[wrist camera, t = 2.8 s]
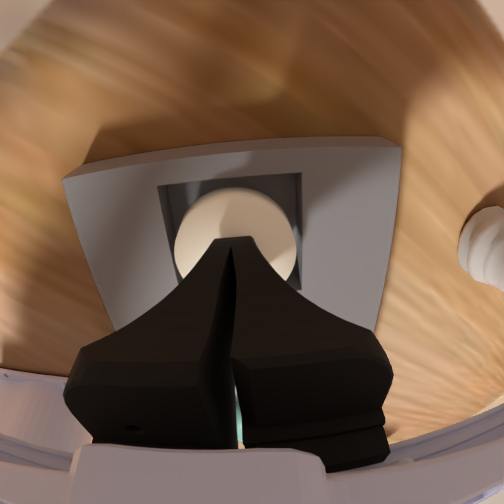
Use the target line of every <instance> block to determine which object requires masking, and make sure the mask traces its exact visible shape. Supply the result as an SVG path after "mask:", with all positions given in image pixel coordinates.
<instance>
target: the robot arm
mask: <svg viewBox="0 0 504 504" xmlns="http://www.w3.org/2000/svg"><path fill="white" fill-rule="evenodd" d="M393 376H394V374H393V370H392V366H391V364H390V362H389V359H388V357H387V355H386V353H385V351H384V349H383V348H382V346H381V344H380V343H379V341H378V340H377V338H376V337H375V335H374V333H373V332H372V331H371V330H369V329H367V328H364V327H362V326H359V325H357V324H354V323H351V322H349V321H346V320H344V319H342V318H340V317H338V316H336V315H334V314H332V313H330V312H328V311H326V310H324V309H322V308H321V307H319V306H317V305H316V304H314V303H313V302H311V301H310V300H308V299H307V298H305V297H304V296H302V295H301V294H300V293H298V292H297V291H296V290H295V289H294V288H292V287H291V286H290V285H289V284H288V283H287V282H286V281H285V280H284V279H283V278H282V277H281V276H280V275H279V274H278V273H277V272H276V271H275V270H274V268H273V267H272V266H271V265H270V264H269V262H268V261H267V260H266V258H265V257H264V256H263V254H262V253H261V251H260V250H259V248H258V247H257V245H256V243H255V241H254V238H253V237H251V236H240V237H228V238H216V239H214V240H213V241H212V242H211V244H210V245H209V247H208V248H207V250H206V251H205V253H204V254H203V255H202V257H201V258H200V259H199V261H198V262H197V263H196V264H195V266H194V267H193V268H192V270H191V271H190V272H189V273H188V274H187V275H186V277H185V278H184V279H183V280H182V281H181V282H180V283H179V284H178V285H177V287H175V288H174V289H173V290H172V291H171V292H170V293H169V294H168V295H167V296H166V297H165V298H163V299H162V300H161V301H160V302H159V303H157V304H156V305H155V306H153V307H152V308H151V309H149V310H148V311H147V312H145V313H144V314H143V315H141V316H140V317H138V318H137V319H135V320H134V321H132V322H131V323H129V324H128V325H126V326H124V327H122V328H121V329H119V330H117V331H115V332H114V333H112V334H110V335H108V336H106V337H104V338H102V339H100V340H97V341H95V342H93V343H91V344H89V345H87V346H85V347H82V348H81V349H80V351H79V353H78V355H77V358H76V360H75V362H74V365H73V367H72V370H71V372H70V375H69V377H59V376H50V375H42V374H34V373H27V372H20V371H14V370H8V369H2V368H0V504H478V503H480V502H481V501H483V500H485V499H487V498H489V497H491V496H492V495H494V494H496V493H497V492H499V491H501V490H503V489H504V403H503V404H501V405H499V406H497V407H494V408H492V409H490V410H488V411H485V412H483V413H481V414H478V415H476V416H474V417H471V418H469V419H466V420H464V421H461V422H459V423H456V424H453V425H451V426H448V427H445V428H442V429H439V430H436V431H434V432H431V433H427V434H424V435H421V436H418V437H415V438H411V439H408V440H405V441H401V442H397V443H394V444H390V445H389V444H388V441H387V438H386V434H385V431H384V428H383V425H384V424H385V416H384V413H383V410H382V405H383V403H384V401H385V399H386V396H387V394H388V392H389V389H390V387H391V385H392V380H393ZM235 387H236V392H237V397H238V402H239V407H240V411H241V416H242V441H243V445H244V446H245V449H238V435H237V417H236V395H235ZM92 437H93V440H92V444H90V442H91V438H92Z"/></svg>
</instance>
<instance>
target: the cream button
mask: <svg viewBox="0 0 504 504" xmlns="http://www.w3.org/2000/svg"><path fill="white" fill-rule="evenodd" d="M240 236H251V237H253V238H254V241H255V243H256V245H257V247H258V248H259V250H260V251H261V253H262V254H263V256H264V257H265V258H266V260H267V261H268V262H269V264H270V265H271V266H272V267H273V268H274V270H275V271H276V272H277V273H278V274H279V275H280V276H281V277H282V278H283V279H284V280H285V281H286V280H287V278H288V277H289V275H290V273H291V272H292V269H293V267H294V264H295V260H296V242H295V238H294V235H293V232H292V229H291V226H290V223H289V220H288V218H287V215H286V214H285V212H284V210H283V209H282V208H281V207H280V205H279V204H278V203H277V202H276V201H275V200H273V199H272V198H271V197H269V196H268V195H266V194H264V193H262V192H260V191H258V190H255V189H251V188H247V187H239V186H233V187H224V188H219V189H216V190H213V191H211V192H208V193H206V194H205V195H203V196H201V197H200V198H199V199H197V200H196V201H195V202H194V203H193V204H192V205H191V206H190V207H189V209H188V210H187V212H186V213H185V215H184V217H183V219H182V222H181V225H180V228H179V231H178V234H177V237H176V240H175V246H174V256H175V262H176V265H177V268H178V270H179V272H180V274H181V276H182V277H183V279H184V278H185V277H186V275H187V274H188V273H189V272H190V271H191V270H192V268H193V267H194V266H195V264H196V263H197V262H198V261H199V259H200V258H201V257H202V255H203V254H204V253H205V251H206V250H207V248H208V247H209V245H210V244H211V242H212V241H213V240H214V239H216V238H228V237H240Z"/></svg>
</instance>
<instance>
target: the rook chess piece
mask: <svg viewBox="0 0 504 504" xmlns="http://www.w3.org/2000/svg"><path fill="white" fill-rule="evenodd" d="M458 259H459V265H460V266H461V267H462V268H463V270H464V271H465V272H468V273H469V274H470V276H471V277H472V278H473V279H474V280H476V281H478V282H482V283H487V284H488V285H492V286H496V287H498V288H499V289H501V290H502V291H503V292H504V209H503V208H501V207H499V206H493V207H487V208H483V209H481V210H480V211H478V212H477V213H475V214H474V215H473V216H472V217H471V218H470V219H469V220H468V222H467V223H466V224H465V226H464V228H463V230H462V232H461V234H460V237H459V243H458Z"/></svg>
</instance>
